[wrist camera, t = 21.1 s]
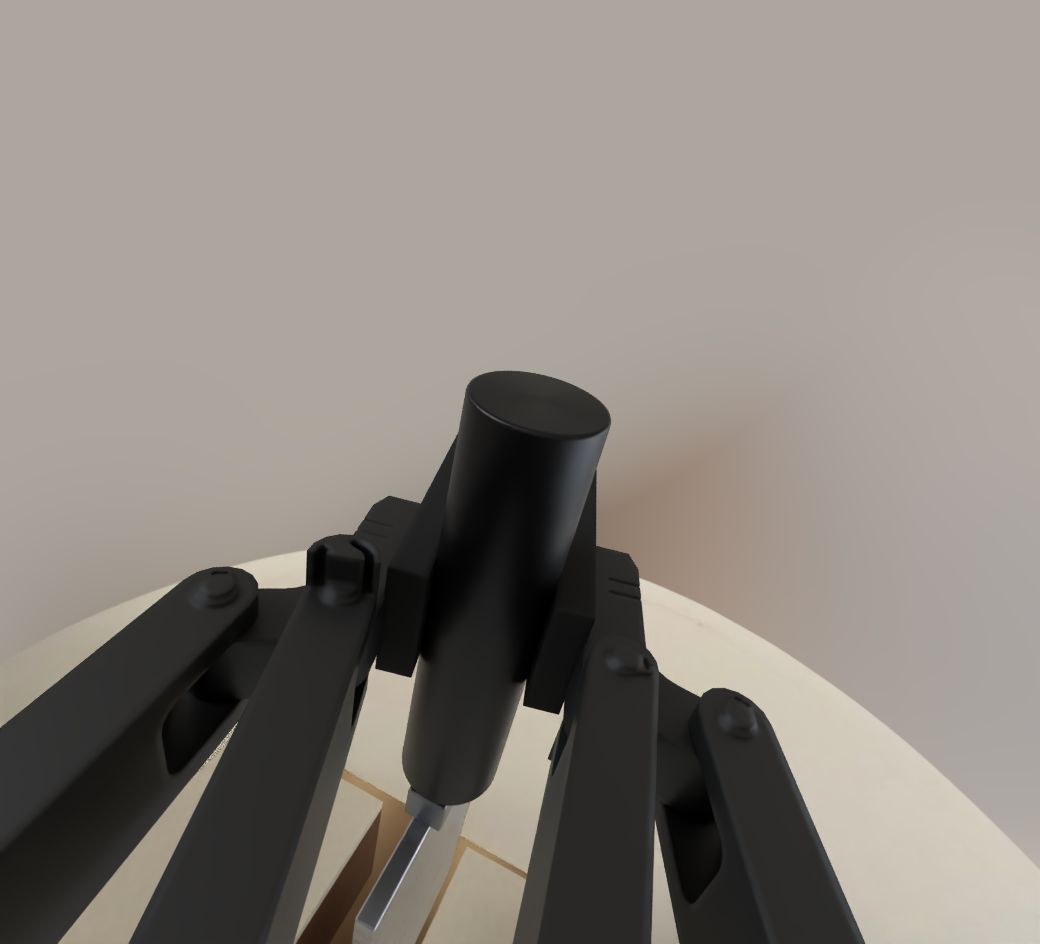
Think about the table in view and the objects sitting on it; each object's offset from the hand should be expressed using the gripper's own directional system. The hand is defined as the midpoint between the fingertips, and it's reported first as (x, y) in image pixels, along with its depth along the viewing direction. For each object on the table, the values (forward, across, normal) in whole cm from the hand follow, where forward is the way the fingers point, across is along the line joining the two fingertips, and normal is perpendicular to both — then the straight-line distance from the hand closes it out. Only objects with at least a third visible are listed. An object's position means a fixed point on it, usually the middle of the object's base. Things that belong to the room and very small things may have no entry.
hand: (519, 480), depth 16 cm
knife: (-5, 0, -18) cm, 19 cm away
